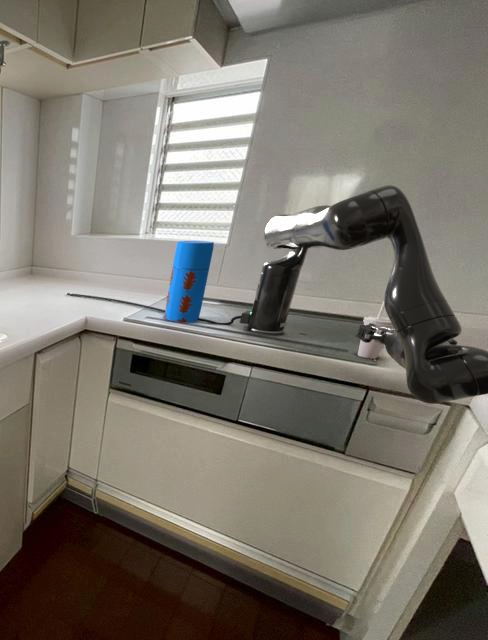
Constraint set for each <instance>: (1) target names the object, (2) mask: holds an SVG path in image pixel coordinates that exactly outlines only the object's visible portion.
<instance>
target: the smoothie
mask: <svg viewBox="0 0 488 640" xmlns="http://www.w3.org/2000/svg"><path fill="white" fill-rule="evenodd" d="M384 309H385V304H384V300H383V301H382V304H381V307H380V309H379V312H378V315H377V316H376V315H367V316H364V318H363V320H362V321H363V325H365V326H366V325H369V323H373V324H375V325H376V326H377V327H389V328H393V329H394V327H393V325H392V323H391V321H390V319H389V317H385V316H382V315H383V312H384V311H385V310H384ZM388 332H389V331H387V333H388ZM377 333H378V330H376V332H375V334H377ZM359 341H360V342H359V346H358V352H357V356H358V357H360V358H361V357H362V358H366V359H377V358H378V357H379V355H380V354H381V352H382V350H383V349H384V347H385V345H384V344H380V343H377V342H375V340H373V339H372V341H370V343H365V342H363V341H362V340H361V339H360V340H359Z"/></svg>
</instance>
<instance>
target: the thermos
mask: <svg viewBox="0 0 488 640" xmlns="http://www.w3.org/2000/svg"><path fill="white" fill-rule="evenodd" d="M214 247H215V242H214V241H209V240H208V241H207V240H178V241H177V243H176V245H175V251H174V257H173V261H172V262H173V263H172V269H171V273H170V274H171V275H170V280H169V286H168V292H167V297H166V304H165V310H166V311H165V312H164V318H165V319H166V320H168V321H171V322H176V323H177V322H178V323H185V324H186V323H197V322H198V318H200V314H201V310H202V308H203V307H202V306H203V302H204V296H205V292H206V287H207V282H208V278H209V272H210V268H211V267H210V266H211V262H212V257H213V252H214Z"/></svg>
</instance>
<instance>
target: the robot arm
mask: <svg viewBox="0 0 488 640" xmlns="http://www.w3.org/2000/svg"><path fill="white" fill-rule="evenodd" d="M422 236H423V235H422V233H421V231H420V228H419V225H418V222H417V219H416V216H415V214H414V210H413V208H412V206H411V203H410V201H409V199H408V197H407V195H406V194H405V193H404V192H403V191H402V189H401V188H399V187H398V186H396V185H391V184H388V185H382V186H379V187H377V188H373V189H371V190H370V189H369V190H367V191H364V192H362V193H360V194H357V195H354V196H351V197H348V198H345V199H343V200H340V201H338V202H335V203H333V204H331V205H328V204H327V205H326V204H325V205H317V206H313V207H310V208H307V209H304V210H301V211H298V212H295V213H292V214H277V215H275V216H273V217H272V218H271V219H270V220H269V222H268V223H267V224H266V226H265V228H264V231H263V242H264V245H265V246H266V247H267V248H268V249H272V250H289V251H288V253H287V254H285V255H284V256H282V257H279V258H277V259H274V260H269V261H266V262H264V263H263V265H262V266H261V272H260V275H259V280H258V283H257V288H256V292H255V296H254V298H253V302H252V307H251V309H250V310H245V311H243V312H241V315H237V316H234V317H232V318H231V319H230V321H227V322H218V321H214V320H211V319H207V318H200V317H199V318H198V321H199V322H205V323H209V324H212V325H225V326H230V325H232V324H234V322H235V321H236V320H239V324H244V325H246V331H248V332H253V333H257V334H262V335H272V336H278V335H282V334H284V331H285V327H287V324H288V322H287V320H288V316H289V313H290V309H291V305H292V302H293V298H294V295H295V292H296V288H297V285H298V281H299V278H300V274H301V271H302V268H303V266H304V264H305V260H306V256H307V254H308V251H309V249H319V248H327V249H331V250H334V251H335V250H337V251H346V250H347V251H348V250H352V249H356V248H360V247H363V246H366V245H368V244H372V243H376V242H378V241H382V240H385V239H387V240H389V243H390V245H391V248H392V250H393V263H392V268H391V271H390V274H389V278H388V280H387V284H386V286H385V287H386V288H385V291H384V296H383V301H384V304H385V307H384V309H385V312H386V315H387V318H389V319H390V321H391V323H392V325H393V327H394V329H393V328H389V327H377V326H376V325H375V324H373V323H369V325H366V326H365V325H364V324H360V325H359V327H358V331H357V333H356V335H355V337H357V338H358V339H360V341H361V340H362V341H363V342H365V343H370V341H372V339H373V340H375V342H377V343H380V344H384V347H385V351H386V352H387V354H388V355H389V357H391V358H392V360H394V361H395V362H396V363H397V364H398V365H399V366H401V367H402V368H403V369H405V378H406V379H405V380H406V386H407V389H408V391H409V393H410V394H411V396H413V397H414V398H415V399H417V400H418V401H420V402H423V403H425V404H428V405H435V404H442V403H447V402H452V401H458V400H462V399H467V398H472V397H473V398H475V397H478V396H484V395H488V350H486V349H483V348H481V347H480V348H479V347H475V346H467V345H460V344H458V343H459V342H458V341H457V340H456V339H455V338H457V337H458V336H460V335H461V333H462V331H463V330H462V329H463V328H462V326H461V323H460V321H459V320H458V317H457V316H456V314H455V312H454V311H453V309H452V308H451V306H450V304H449V302H448V300H447V299H446V297H445V295H444V294H443V291H442V289H441V288H440V286H439V284H438V281H437V279H436V277H435V275H434V272H433V270H432V266H431V262H430V260H429V257H428V253H427V250H426V247H425V243H424V240H423V237H422ZM70 293H71V292H67V293H66V295H67V296H72V297H82V298H90V299H96V300H104V301H109V302H110V301H111V302H116V303H121V304H126V305H131V306H136V307H140V308H143V309H144V308H145V309H149V310H153V311H157V312H161V313H165V311H166V309H162V308H158V307H154V306H150V305H146V304H141V303H136V302H131V301H127V300H121V299H115V298H110V297H109V298H108V297H104V296H103V297H102V296H96V295H88V294H79V293H72V294H70ZM198 321H197V322H198ZM376 330H378V333H377V334H375V332H376ZM387 331H389V332H388V333H387Z"/></svg>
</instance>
